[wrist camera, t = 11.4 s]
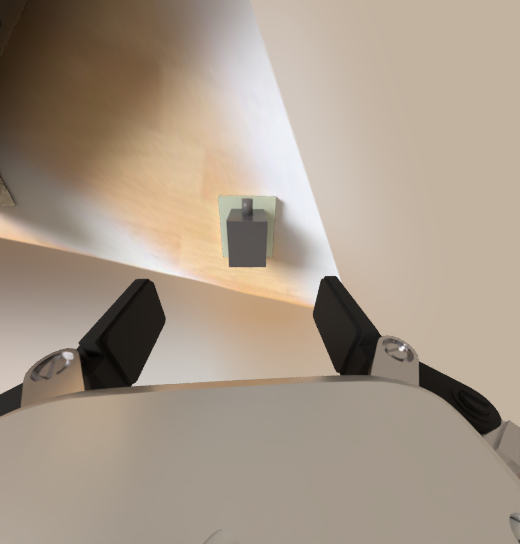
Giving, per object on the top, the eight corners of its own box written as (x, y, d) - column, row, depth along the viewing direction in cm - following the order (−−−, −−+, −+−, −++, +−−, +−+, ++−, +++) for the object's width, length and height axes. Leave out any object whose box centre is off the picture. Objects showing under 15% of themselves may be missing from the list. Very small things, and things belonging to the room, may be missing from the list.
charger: (230, 194, 22) (225, 203, 17) (263, 195, 22) (268, 204, 17) (233, 248, 25) (229, 269, 20) (262, 248, 26) (265, 268, 20)
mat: (219, 195, 23) (218, 196, 22) (274, 196, 23) (276, 197, 22) (224, 253, 27) (223, 257, 26) (271, 253, 27) (272, 257, 26)
